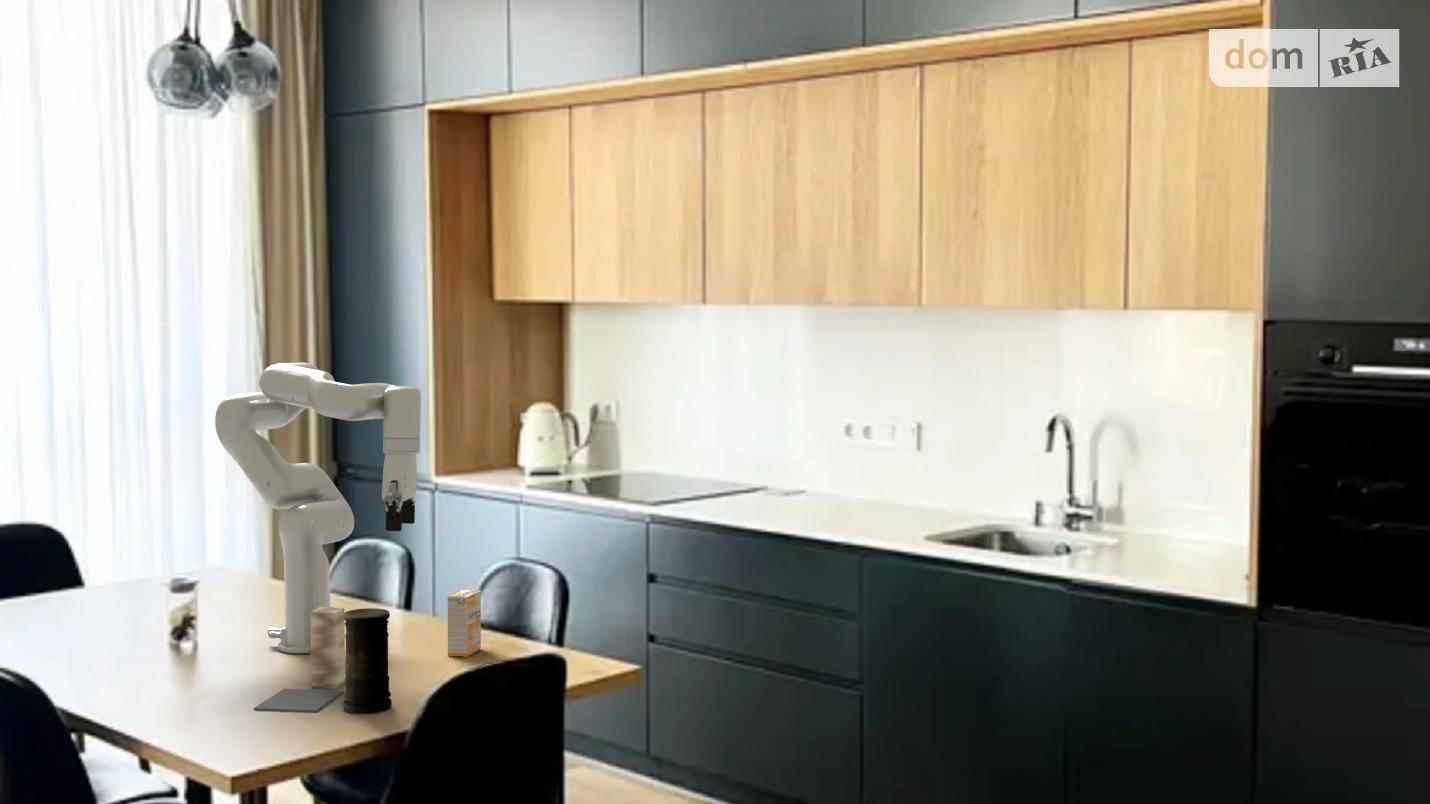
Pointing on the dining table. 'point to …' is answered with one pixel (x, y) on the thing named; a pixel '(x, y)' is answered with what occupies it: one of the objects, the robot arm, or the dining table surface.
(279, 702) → the mat
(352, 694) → the container
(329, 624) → the beige patterned box
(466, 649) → the supplement box
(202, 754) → the dining table surface
